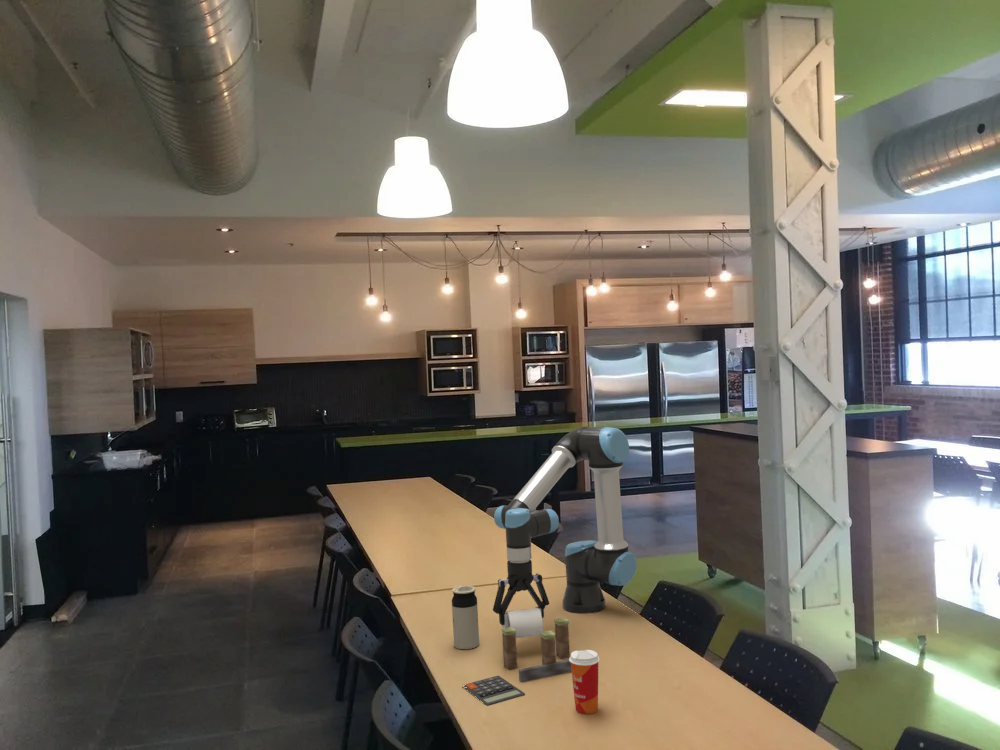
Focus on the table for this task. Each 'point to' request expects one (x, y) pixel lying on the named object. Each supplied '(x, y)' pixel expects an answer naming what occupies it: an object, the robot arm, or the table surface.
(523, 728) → the table surface
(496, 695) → the calculator
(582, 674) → the paper cup
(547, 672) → the header dock
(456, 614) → the travel mug
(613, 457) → the robot arm
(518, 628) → the mug
